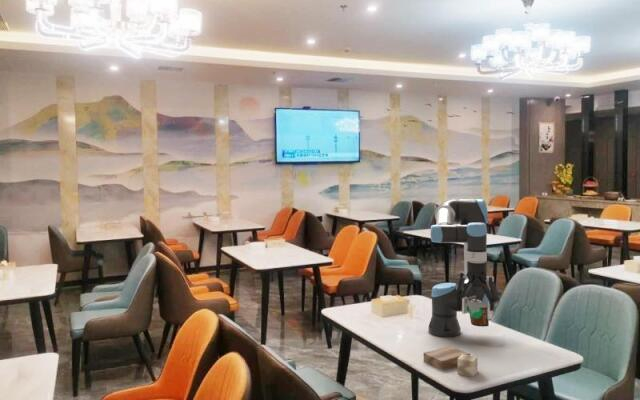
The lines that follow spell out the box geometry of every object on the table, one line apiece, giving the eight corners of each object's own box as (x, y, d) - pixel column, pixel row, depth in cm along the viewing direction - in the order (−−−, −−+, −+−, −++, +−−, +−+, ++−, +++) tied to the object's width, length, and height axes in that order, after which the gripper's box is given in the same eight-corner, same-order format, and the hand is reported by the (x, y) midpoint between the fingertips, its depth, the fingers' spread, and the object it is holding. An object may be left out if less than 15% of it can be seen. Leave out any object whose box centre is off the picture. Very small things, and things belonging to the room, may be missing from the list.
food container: (463, 320, 218) (461, 297, 217) (477, 318, 219) (475, 295, 218) (475, 329, 206) (473, 304, 205) (490, 327, 206) (488, 302, 206)
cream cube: (457, 374, 202) (457, 358, 202) (462, 368, 207) (462, 353, 207) (473, 377, 199) (473, 361, 199) (477, 371, 204) (477, 356, 204)
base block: (423, 362, 216) (423, 352, 216) (450, 355, 223) (450, 346, 223) (442, 371, 206) (442, 361, 206) (470, 363, 214) (469, 353, 213)
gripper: (446, 259, 215) (447, 312, 217) (499, 266, 199) (500, 323, 201) (456, 256, 220) (456, 308, 222) (508, 263, 204) (508, 318, 206)
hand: (477, 315), depth 211 cm, fingers closed on food container, 10 cm apart
